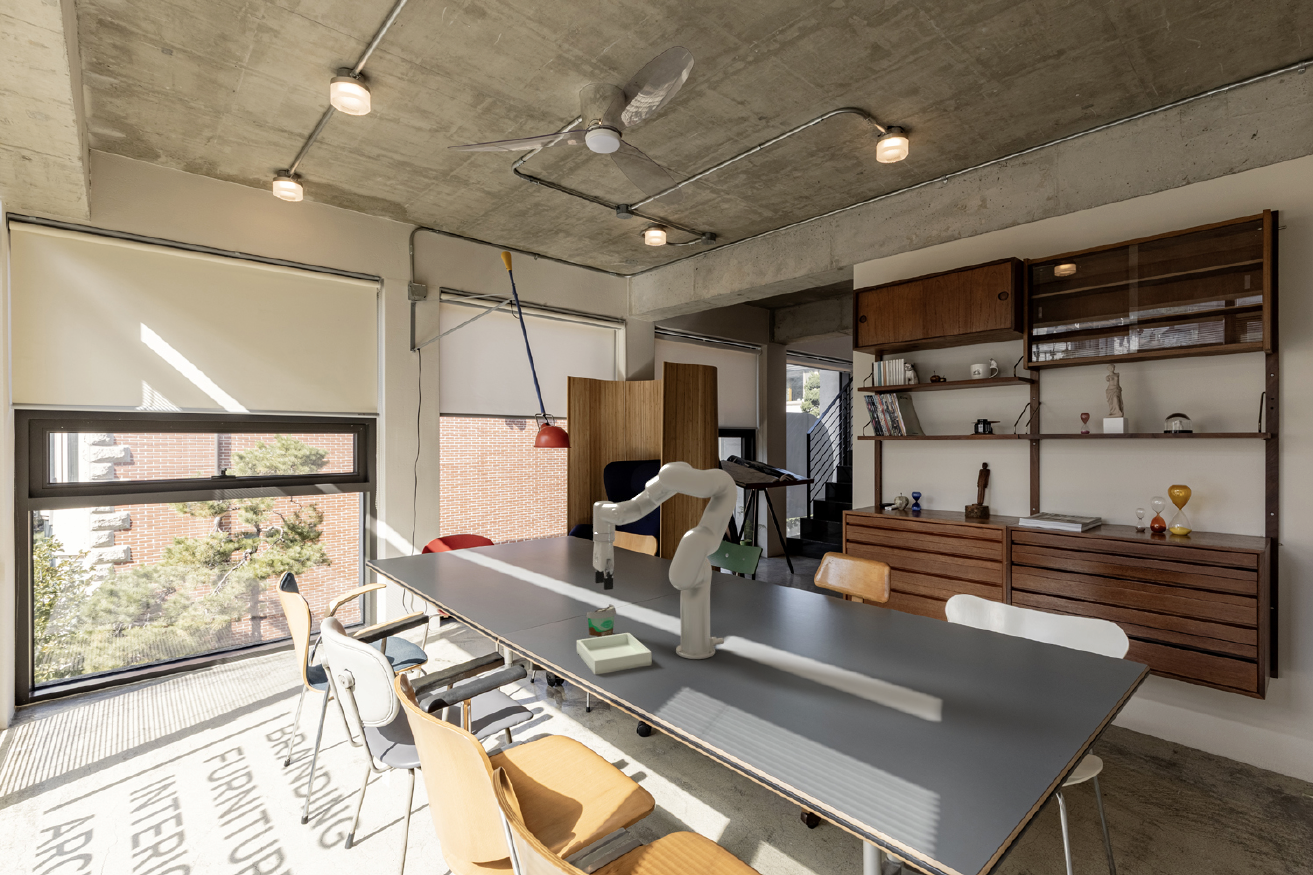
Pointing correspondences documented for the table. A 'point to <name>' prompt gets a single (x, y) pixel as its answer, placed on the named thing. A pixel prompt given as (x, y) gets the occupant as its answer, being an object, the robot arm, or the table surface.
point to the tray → (613, 653)
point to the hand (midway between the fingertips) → (604, 586)
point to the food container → (601, 622)
